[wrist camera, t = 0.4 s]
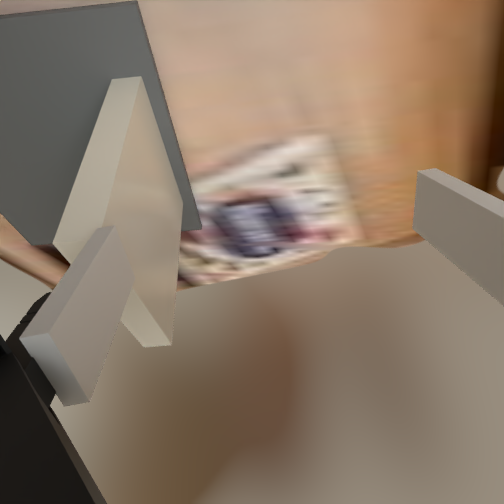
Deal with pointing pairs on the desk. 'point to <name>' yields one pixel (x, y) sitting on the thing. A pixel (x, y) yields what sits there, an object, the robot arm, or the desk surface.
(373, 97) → the desk surface
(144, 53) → the rubber mat
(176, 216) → the glazed tile
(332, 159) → the desk surface
